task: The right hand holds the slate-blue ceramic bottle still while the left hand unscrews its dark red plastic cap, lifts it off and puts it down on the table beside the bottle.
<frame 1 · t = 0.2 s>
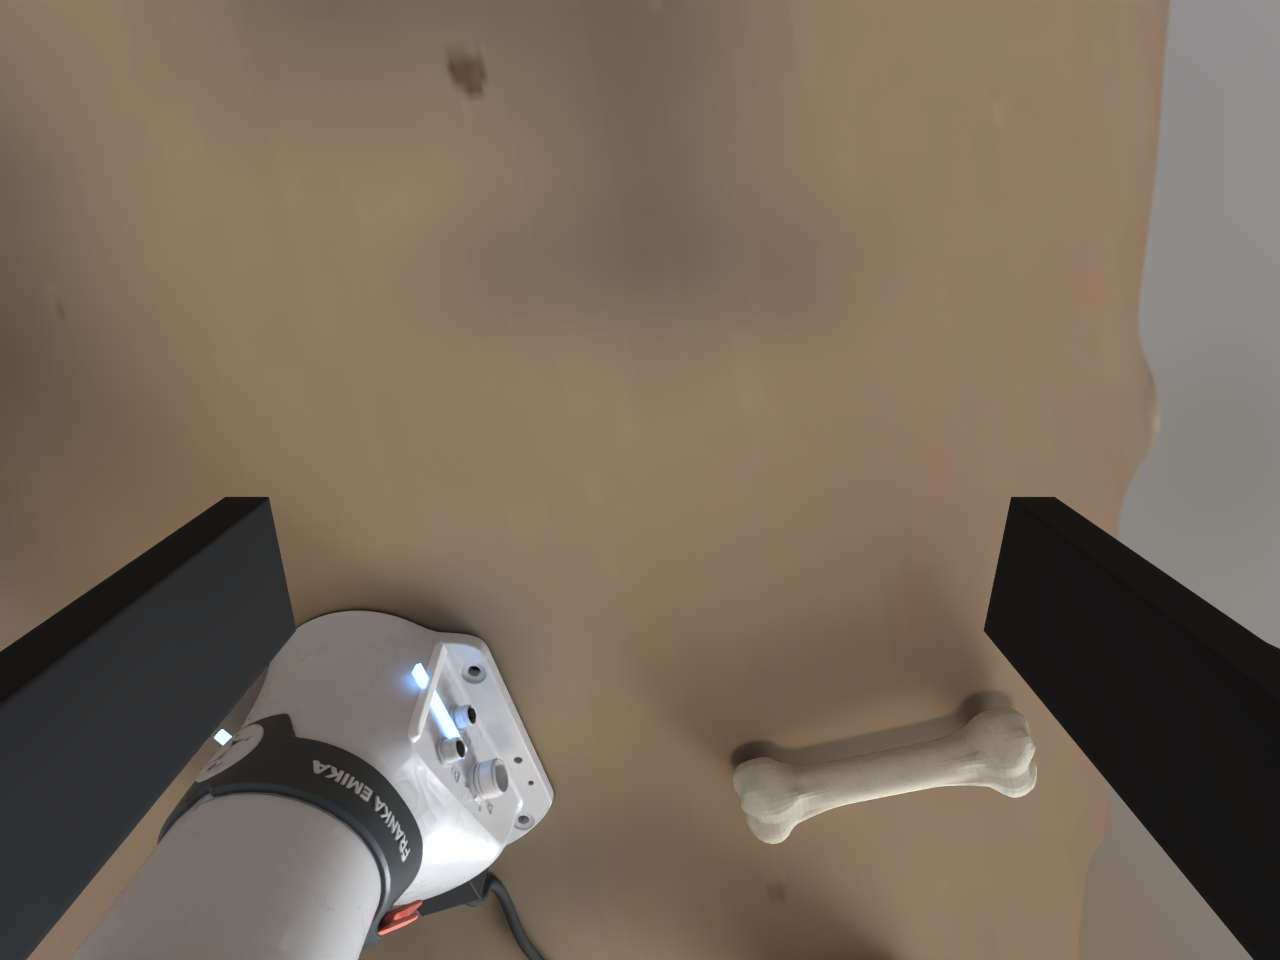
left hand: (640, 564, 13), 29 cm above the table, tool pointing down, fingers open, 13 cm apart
dog toy: (870, 748, 50), on the table
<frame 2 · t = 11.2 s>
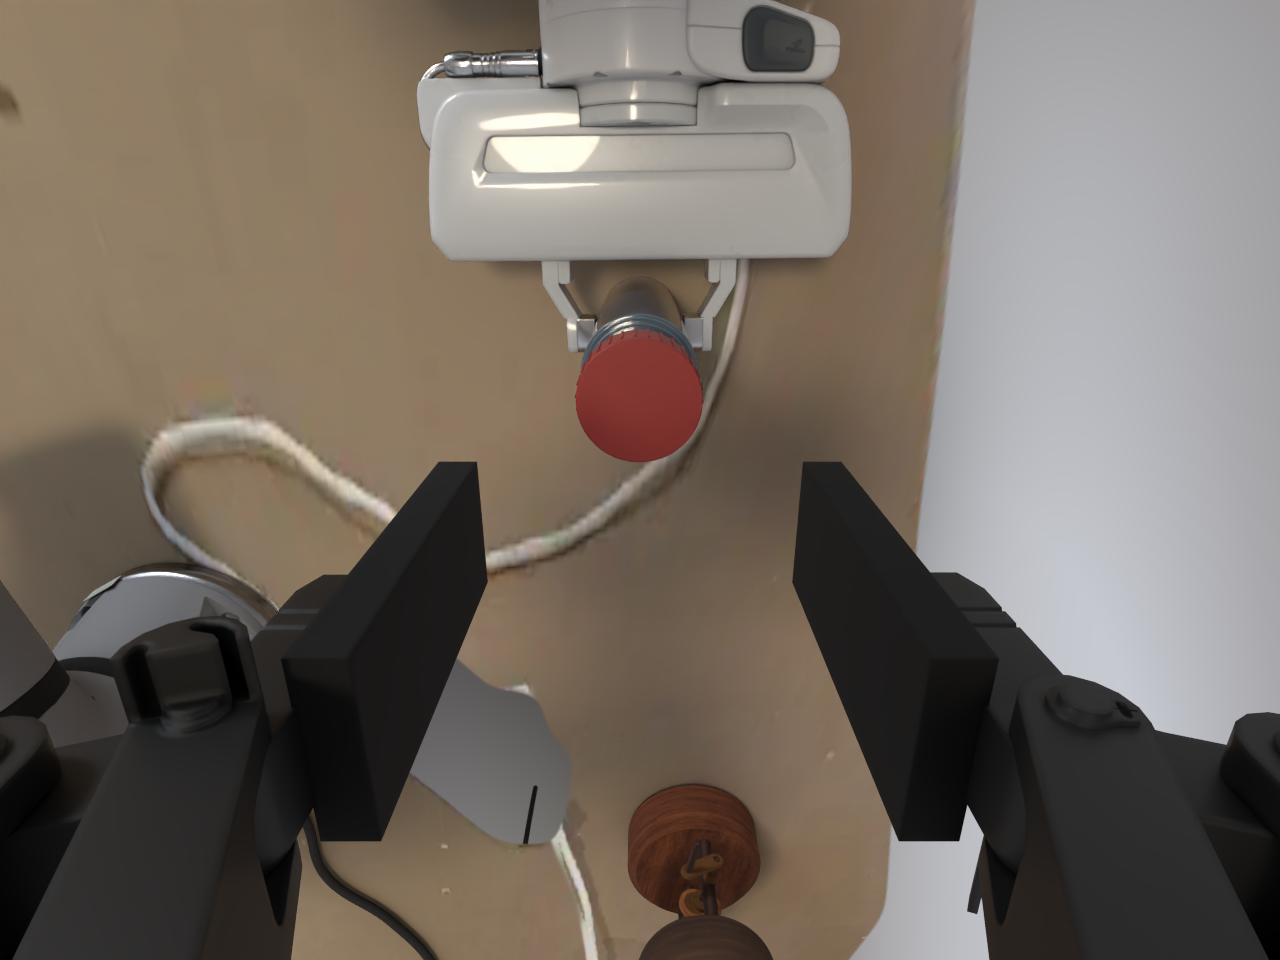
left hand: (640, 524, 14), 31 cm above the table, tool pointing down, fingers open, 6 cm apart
right hand: (640, 350, 37), fingers closed on bottle, 4 cm apart
music box: (691, 824, 58), on the table
bottle: (639, 315, 43), on the table, touching right hand
cap: (639, 400, 24), point 21 cm above the table, screwed on, not yet turned
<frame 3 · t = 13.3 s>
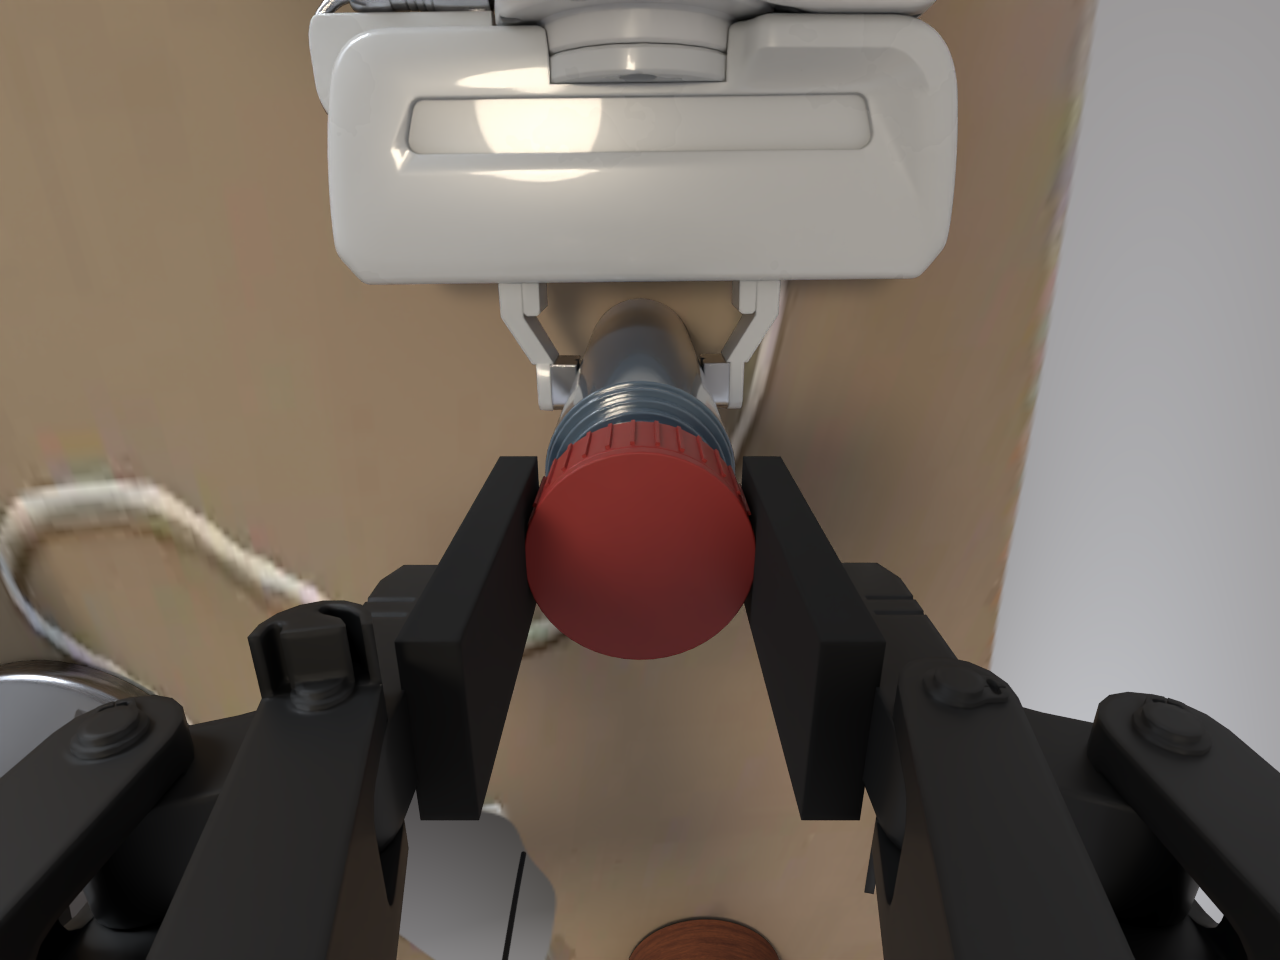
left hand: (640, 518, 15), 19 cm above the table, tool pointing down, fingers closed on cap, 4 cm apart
right hand: (641, 406, 26), fingers closed on bottle, 4 cm apart
bottle: (640, 349, 32), on the table, touching right hand
cap: (640, 554, 13), point 21 cm above the table, screwed on, not yet turned, touching left hand
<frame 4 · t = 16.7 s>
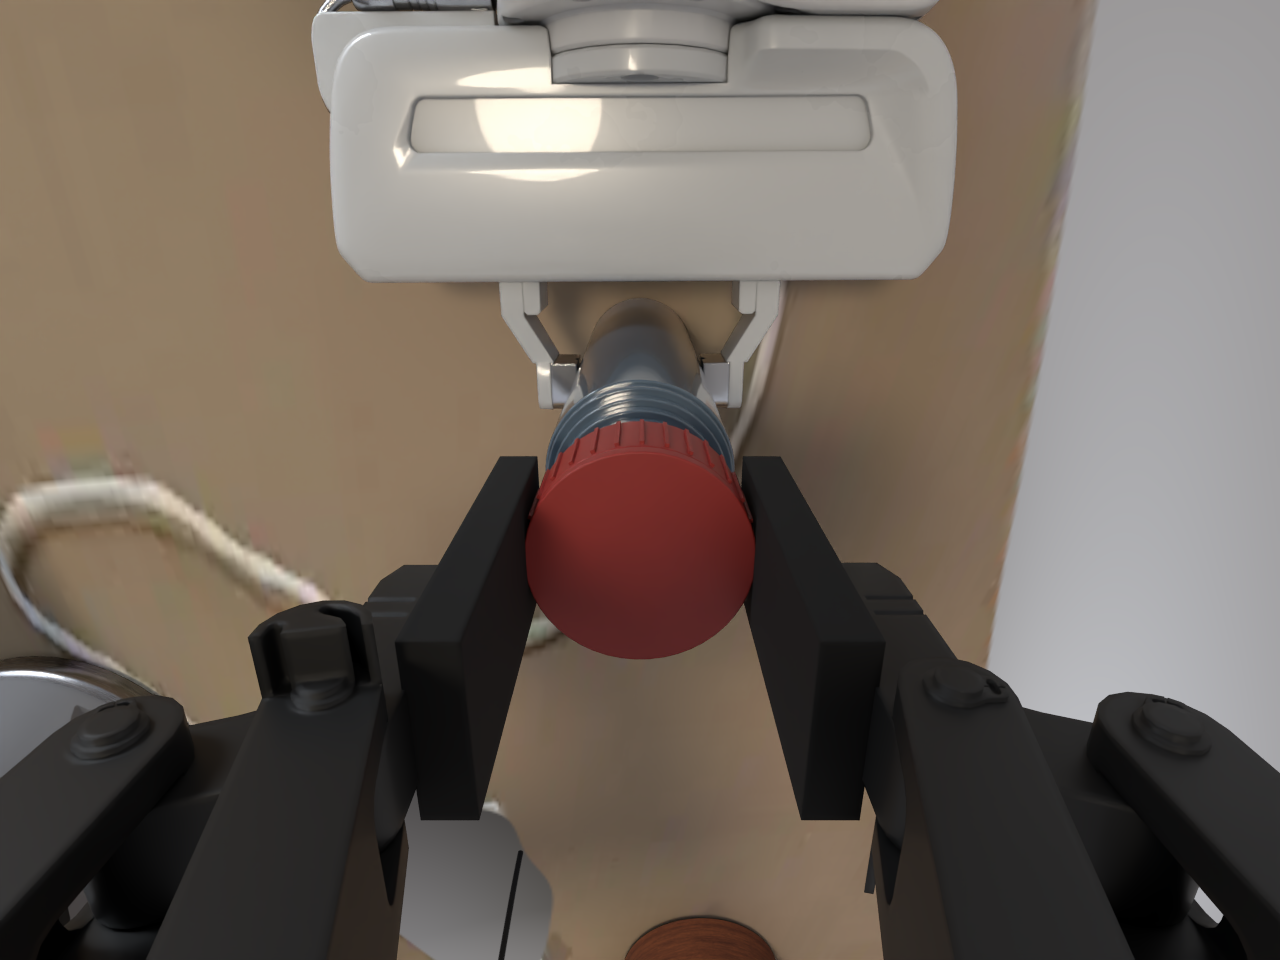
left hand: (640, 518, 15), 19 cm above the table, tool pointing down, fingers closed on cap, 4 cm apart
right hand: (641, 405, 26), fingers closed on bottle, 4 cm apart
bottle: (640, 348, 32), on the table, touching right hand
cap: (640, 554, 13), point 21 cm above the table, turned 104° so far, risen 0.1 cm, still on its thread, touching left hand
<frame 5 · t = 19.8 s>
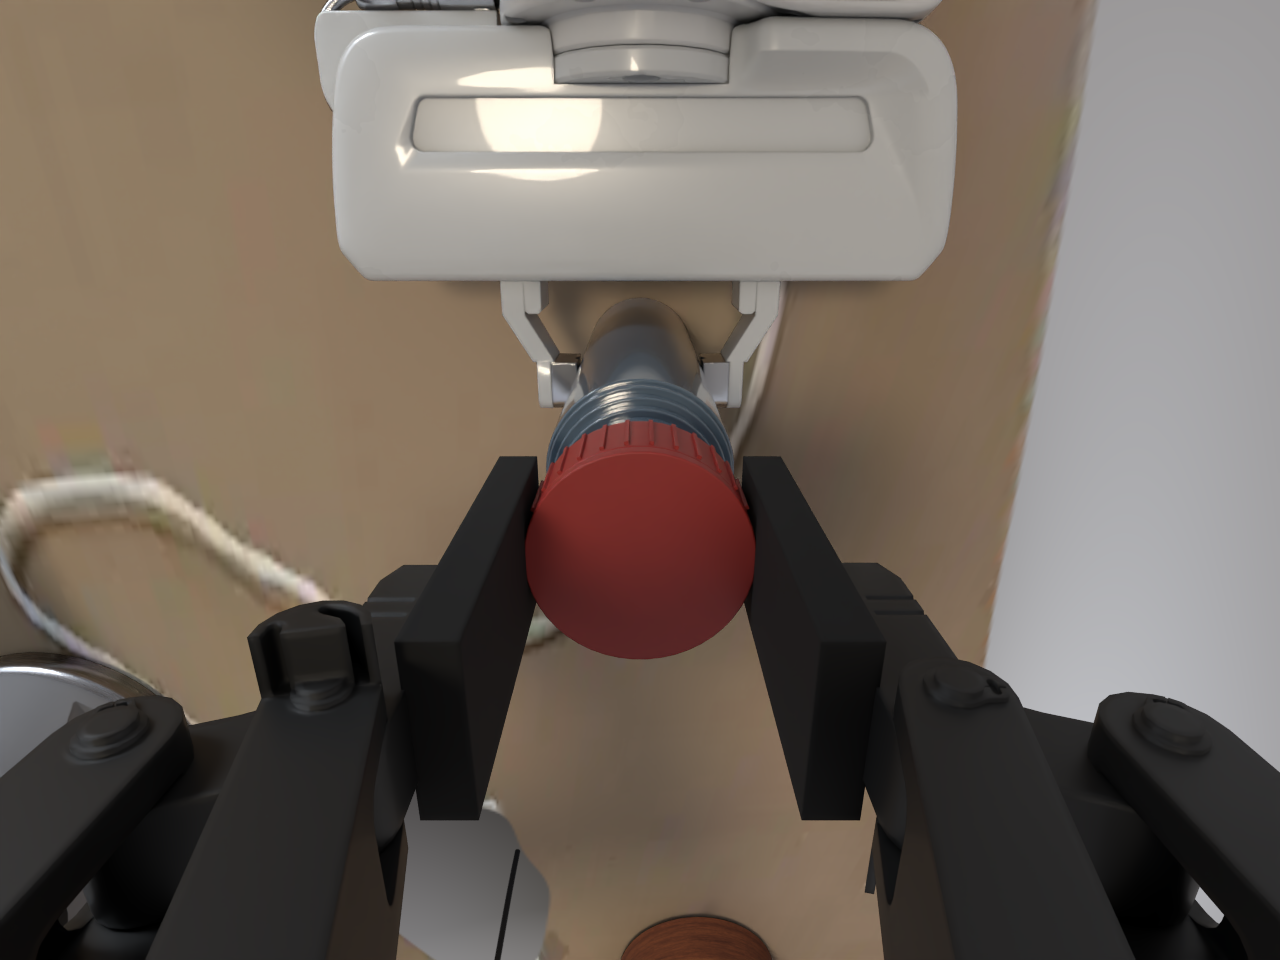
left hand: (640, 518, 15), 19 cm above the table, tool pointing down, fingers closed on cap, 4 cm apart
right hand: (641, 404, 27), fingers closed on bottle, 4 cm apart
bottle: (640, 348, 33), on the table, touching right hand
cap: (640, 554, 13), point 21 cm above the table, turned 207° so far, risen 0.2 cm, still on its thread, touching left hand
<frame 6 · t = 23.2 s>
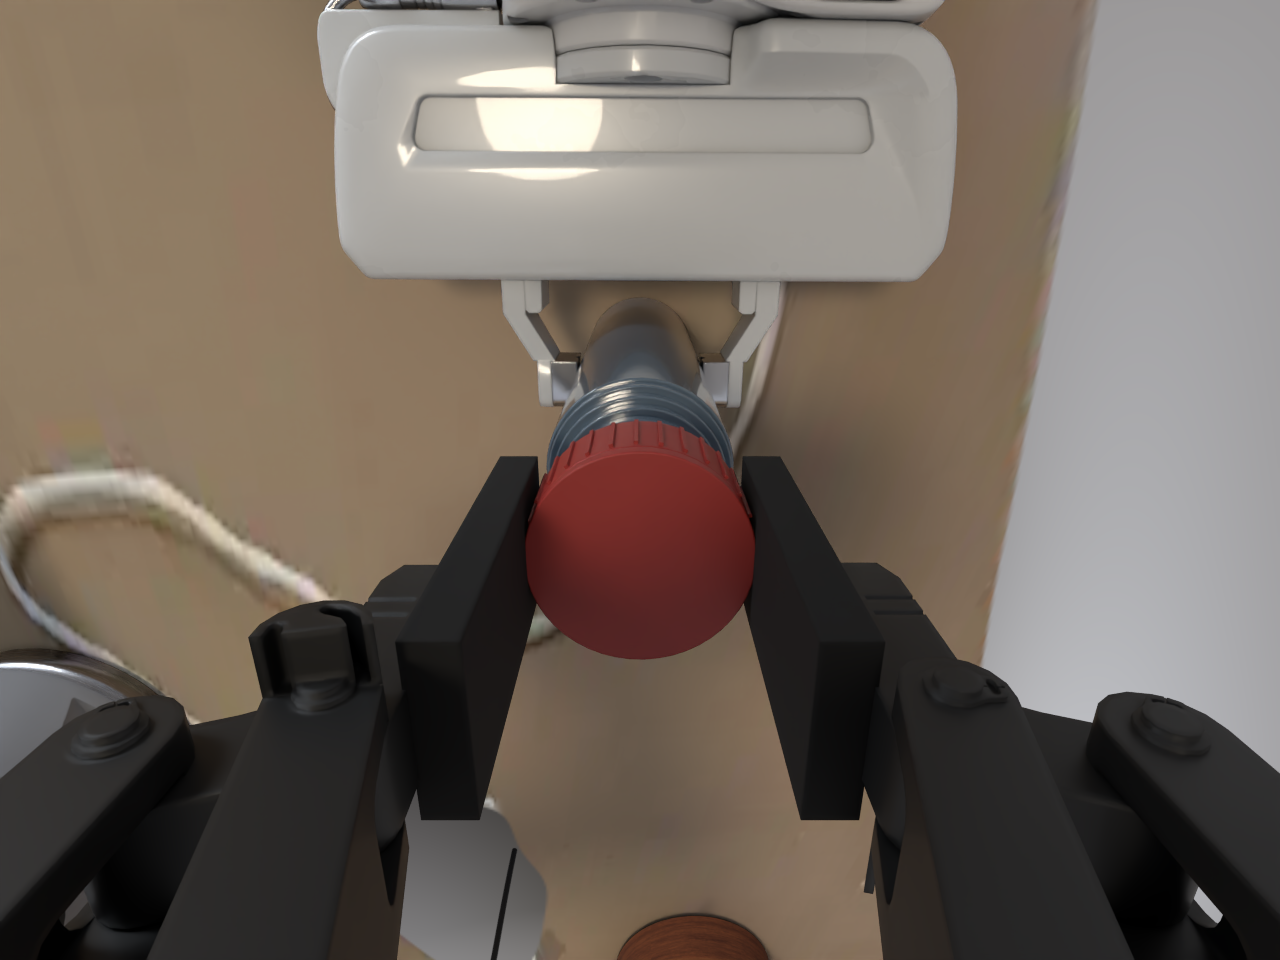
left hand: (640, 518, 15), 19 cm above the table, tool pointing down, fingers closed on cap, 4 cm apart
right hand: (641, 403, 27), fingers closed on bottle, 4 cm apart
music box: (693, 959, 47), on the table
bottle: (640, 348, 33), on the table, touching right hand
cap: (640, 554, 13), point 21 cm above the table, turned 311° so far, risen 0.3 cm, still on its thread, touching left hand
when the left hand's fingers open (1 cm above the table, at t = 29.2 s): cap stays where it is, point 2 cm above the table.
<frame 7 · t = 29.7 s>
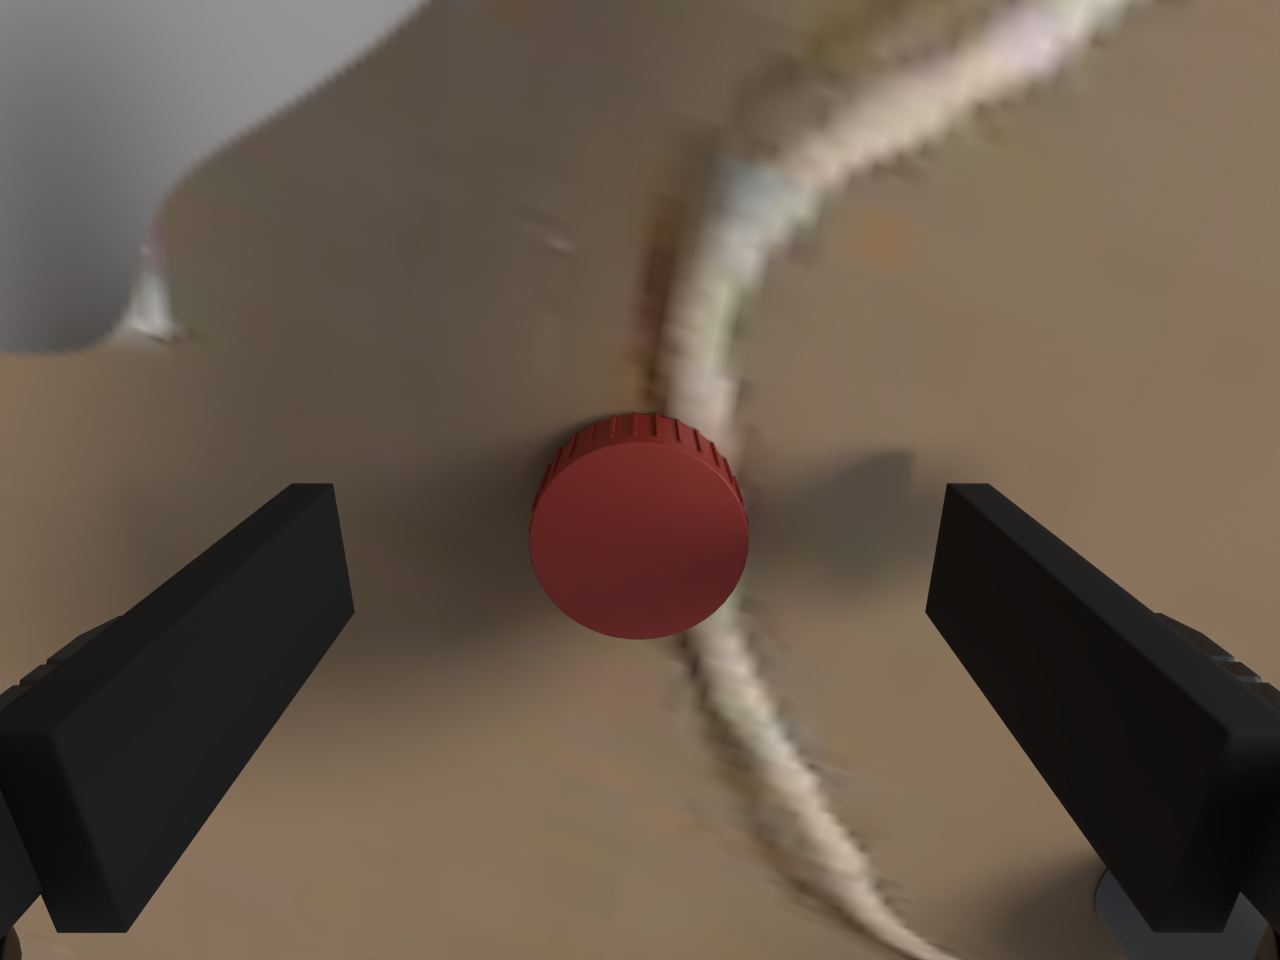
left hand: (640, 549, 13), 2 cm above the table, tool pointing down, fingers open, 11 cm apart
bottle: (1179, 888, 19), on the table, touching right hand
cap: (638, 539, 14), point 2 cm above the table, off its thread
when the right hand's fingers open (7 cm above the table, at t = 30.5 s): bottle stays where it is, on the table.
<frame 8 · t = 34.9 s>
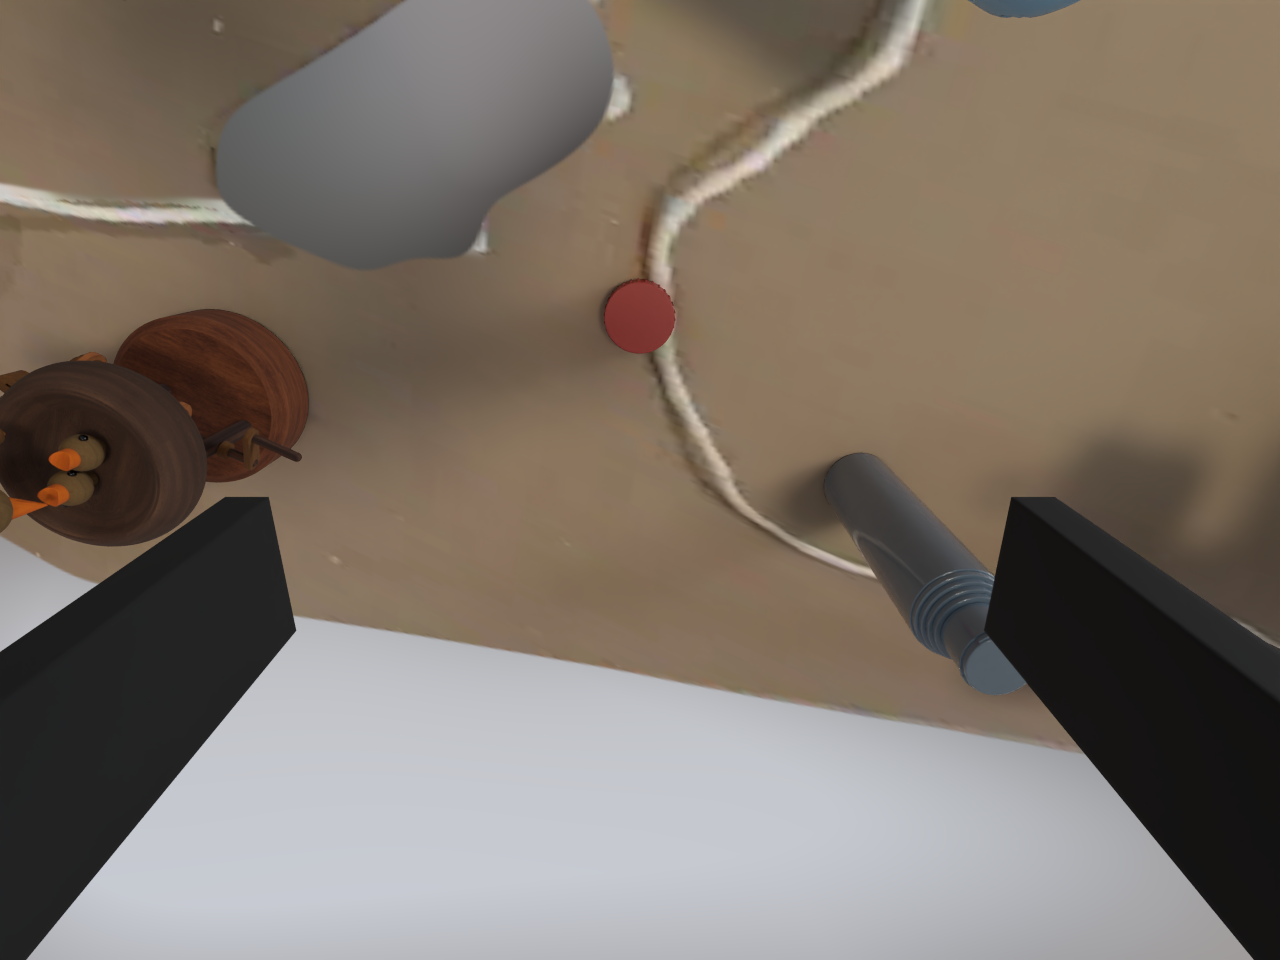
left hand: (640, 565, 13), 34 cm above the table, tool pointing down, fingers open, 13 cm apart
music box: (240, 393, 46), on the table
bottle: (857, 484, 48), on the table
cap: (639, 317, 42), point 2 cm above the table, off its thread
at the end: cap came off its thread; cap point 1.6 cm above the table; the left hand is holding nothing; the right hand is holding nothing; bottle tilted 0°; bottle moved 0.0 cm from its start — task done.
